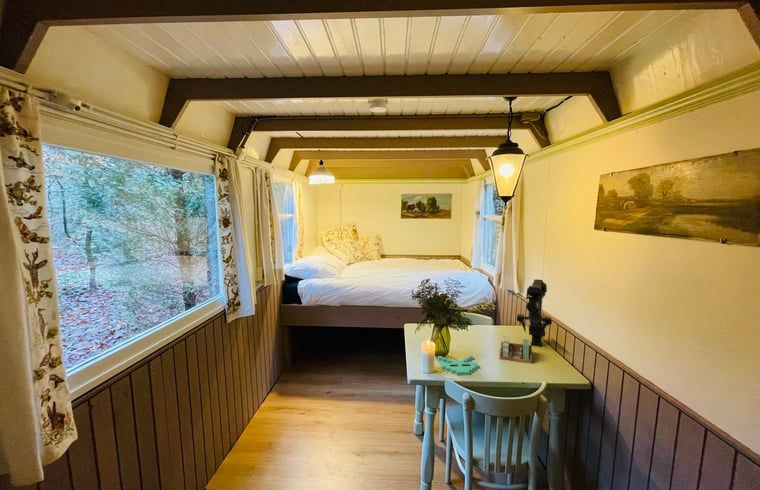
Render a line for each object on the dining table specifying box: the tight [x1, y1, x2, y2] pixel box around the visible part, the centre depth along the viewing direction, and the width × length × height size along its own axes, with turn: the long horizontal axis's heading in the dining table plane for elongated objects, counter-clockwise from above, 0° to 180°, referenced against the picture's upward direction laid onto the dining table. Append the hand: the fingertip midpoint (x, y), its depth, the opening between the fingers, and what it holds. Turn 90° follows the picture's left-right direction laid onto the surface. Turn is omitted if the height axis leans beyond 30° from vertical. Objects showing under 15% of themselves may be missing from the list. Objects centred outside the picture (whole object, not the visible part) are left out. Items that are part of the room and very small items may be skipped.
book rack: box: [499, 338, 533, 365], centre depth 196 cm, size 14×17×8 cm
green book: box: [522, 338, 530, 360], centre depth 193 cm, size 10×3×8 cm, turn 156°
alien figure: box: [437, 354, 480, 376], centre depth 185 cm, size 20×2×20 cm
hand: (533, 333), depth 200 cm, fingers open, 9 cm apart
